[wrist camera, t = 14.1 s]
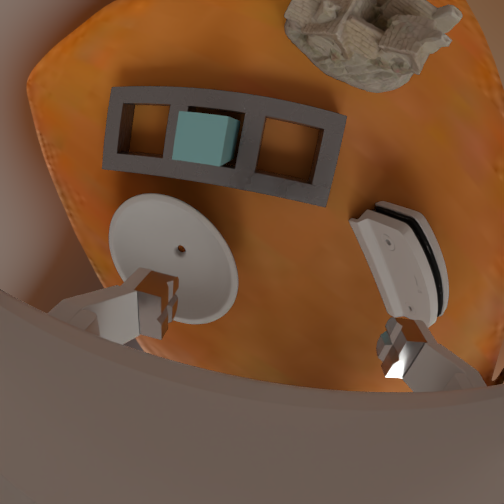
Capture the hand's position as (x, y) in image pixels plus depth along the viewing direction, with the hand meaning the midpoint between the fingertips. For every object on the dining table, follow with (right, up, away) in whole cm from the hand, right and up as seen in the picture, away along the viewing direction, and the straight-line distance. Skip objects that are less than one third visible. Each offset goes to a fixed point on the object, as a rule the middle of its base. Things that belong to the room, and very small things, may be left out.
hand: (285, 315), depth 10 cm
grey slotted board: (-5, +15, +19) cm, 25 cm away
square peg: (-5, +15, +19) cm, 25 cm away
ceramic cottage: (+12, +28, +13) cm, 33 cm away
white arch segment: (+18, +2, +24) cm, 30 cm away
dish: (-10, +3, +25) cm, 28 cm away
